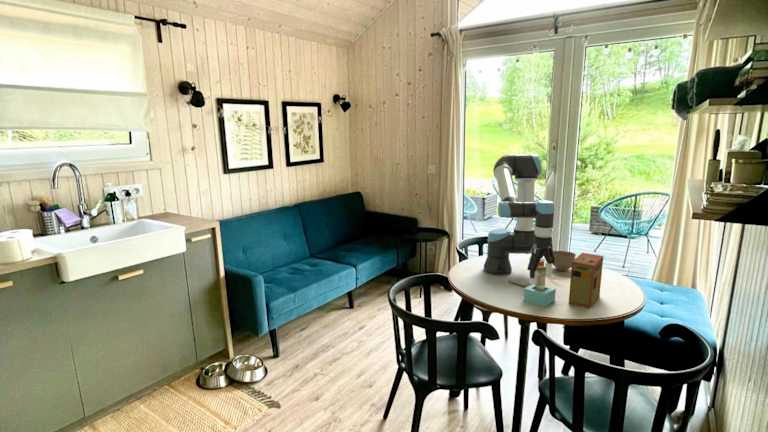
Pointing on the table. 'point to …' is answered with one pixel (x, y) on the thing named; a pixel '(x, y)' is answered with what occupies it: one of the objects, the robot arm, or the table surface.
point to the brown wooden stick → (517, 284)
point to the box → (585, 280)
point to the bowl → (563, 260)
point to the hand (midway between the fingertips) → (540, 280)
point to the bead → (539, 295)
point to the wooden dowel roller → (540, 278)
